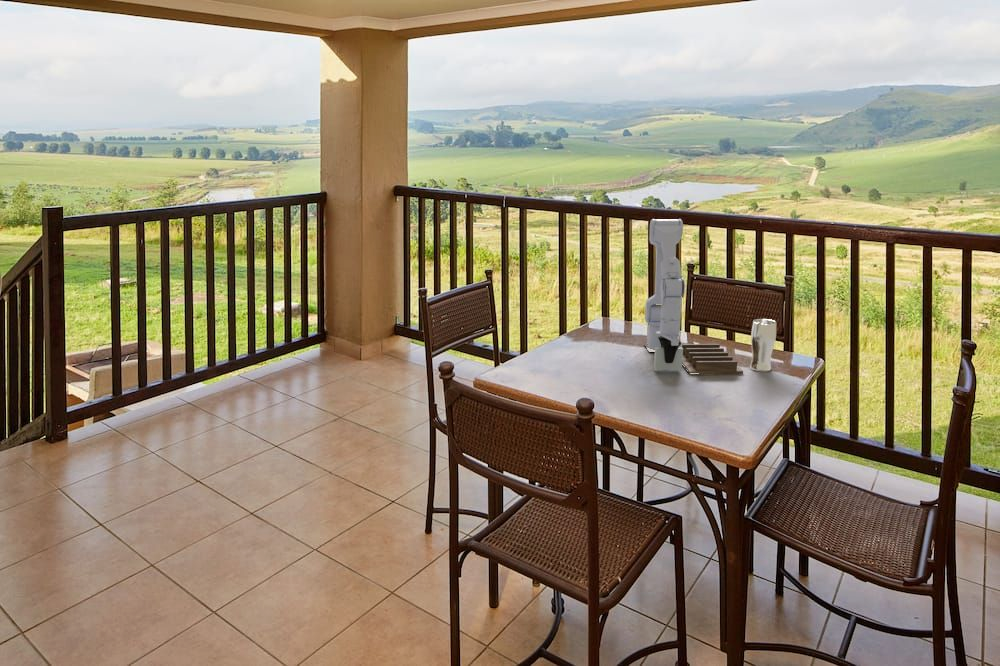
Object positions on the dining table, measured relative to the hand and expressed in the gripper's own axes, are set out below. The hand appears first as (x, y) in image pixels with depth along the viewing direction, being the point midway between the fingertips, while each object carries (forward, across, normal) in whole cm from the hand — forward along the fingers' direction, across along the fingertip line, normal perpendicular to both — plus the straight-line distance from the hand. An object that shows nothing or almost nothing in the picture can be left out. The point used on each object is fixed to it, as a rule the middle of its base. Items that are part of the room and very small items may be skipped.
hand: (668, 361), depth 197 cm
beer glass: (+4, -2, +29) cm, 29 cm away
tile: (+3, 0, 0) cm, 3 cm away
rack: (+3, -6, +14) cm, 16 cm away
